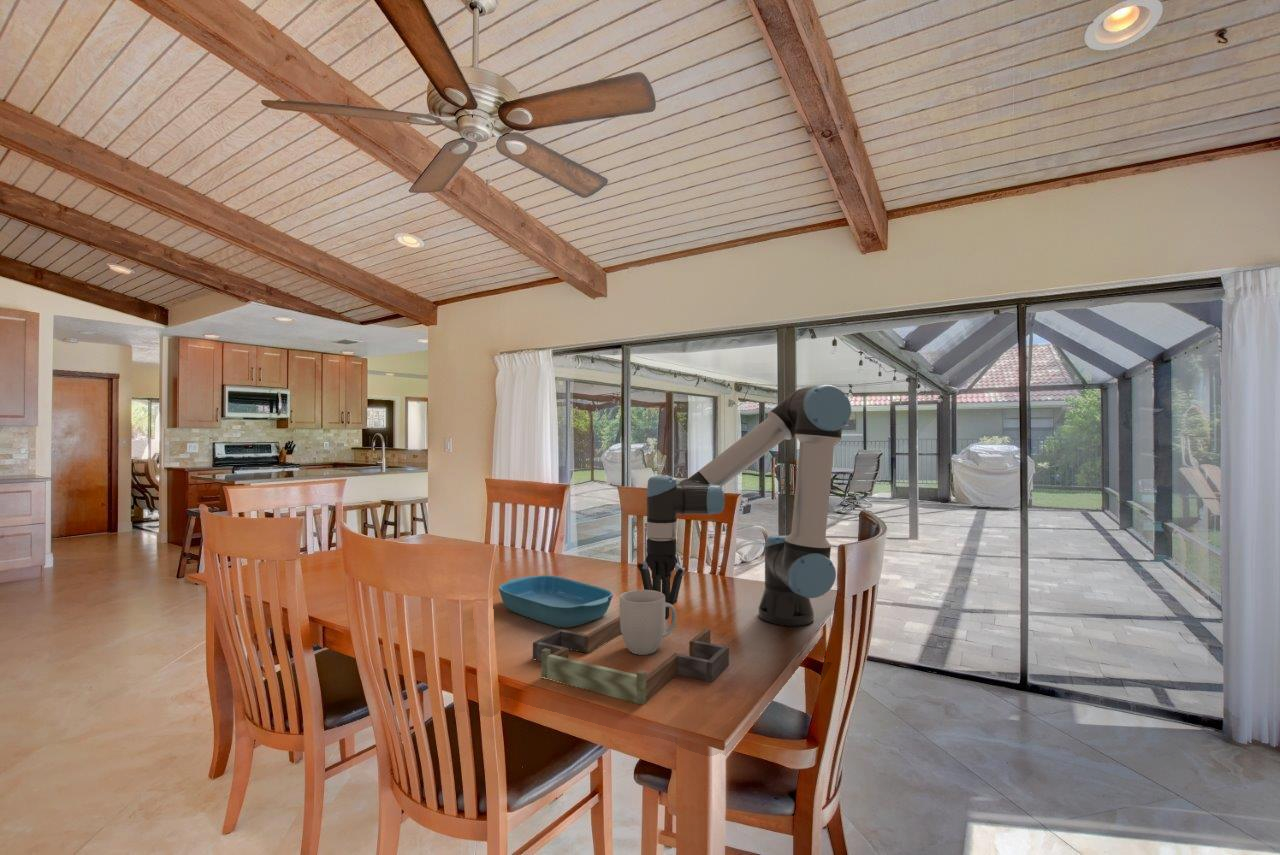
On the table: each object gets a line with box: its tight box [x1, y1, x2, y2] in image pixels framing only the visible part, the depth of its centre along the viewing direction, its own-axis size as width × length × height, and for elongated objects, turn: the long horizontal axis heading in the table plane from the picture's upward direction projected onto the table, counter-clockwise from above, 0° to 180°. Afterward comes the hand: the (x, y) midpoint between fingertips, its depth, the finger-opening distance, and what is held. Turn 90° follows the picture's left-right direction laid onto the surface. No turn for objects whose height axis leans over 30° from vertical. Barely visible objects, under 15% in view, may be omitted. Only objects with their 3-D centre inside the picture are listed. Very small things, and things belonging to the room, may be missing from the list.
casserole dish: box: [498, 574, 614, 628], centre depth 169 cm, size 37×22×7 cm, turn 50°
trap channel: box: [532, 616, 730, 706], centre depth 134 cm, size 40×35×6 cm
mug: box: [619, 589, 678, 656], centre depth 141 cm, size 15×11×13 cm
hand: (661, 631), depth 147 cm, fingers closed
